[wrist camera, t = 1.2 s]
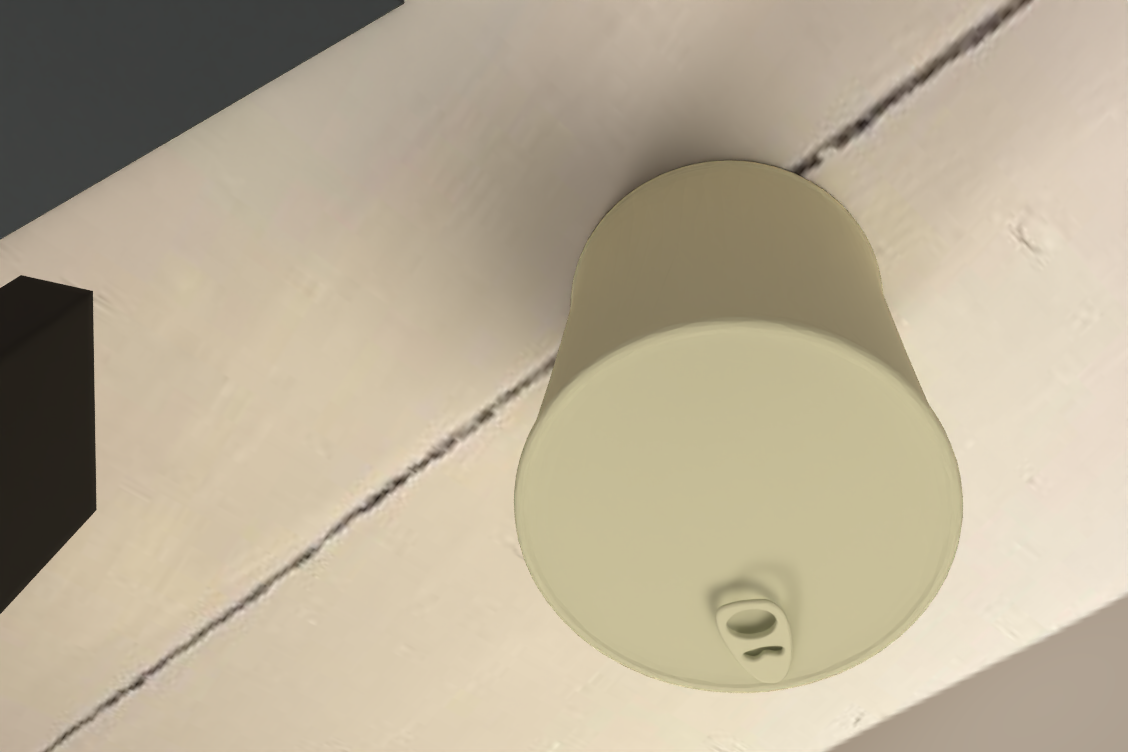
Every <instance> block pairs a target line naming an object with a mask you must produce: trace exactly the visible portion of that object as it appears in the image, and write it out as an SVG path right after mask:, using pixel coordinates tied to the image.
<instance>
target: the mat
mask: <svg viewBox="0 0 1128 752" xmlns="http://www.w3.org/2000/svg"><path fill="white" fill-rule="evenodd" d="M402 4H404V0H0V239H2V238H4V237H6V236H7V235H9V234H11V233H12V232H14V231H16V230H17V229H19V228H21V227H23V226H24V225H26V224H28V223H29V222H31V221H33V220H35V219H36V218H38V217H40V216H41V215H43V214H45V213H47V212H48V211H50V210H52V209H53V208H55V207H57V206H59V205H60V204H62V203H64V202H65V201H67V200H69V199H71V198H72V197H74V196H76V195H77V194H79V193H81V192H82V191H84V190H86V189H88V188H89V187H91V186H93V185H94V184H96V183H98V182H100V181H101V180H103V179H105V178H106V177H108V176H110V175H112V174H113V173H115V172H117V171H118V170H120V169H122V168H124V167H125V166H127V165H129V164H130V163H132V162H134V161H136V160H137V159H139V158H141V157H142V156H144V155H146V154H147V153H149V152H151V151H153V150H154V149H156V148H158V147H159V146H161V145H163V144H165V143H166V142H168V141H170V140H171V139H173V138H175V137H177V136H178V135H180V134H182V133H183V132H185V131H187V130H189V129H190V128H192V127H194V126H195V125H197V124H199V123H201V122H202V121H204V120H206V119H207V118H209V117H211V116H212V115H214V114H216V113H218V112H219V111H221V110H223V109H224V108H226V107H228V106H230V105H231V104H233V103H235V102H236V101H238V100H240V99H242V98H243V97H245V96H247V95H248V94H250V93H252V92H254V91H255V90H257V89H259V88H260V87H262V86H264V85H266V84H267V83H269V82H271V81H272V80H274V79H276V78H277V77H279V76H281V75H283V74H284V73H286V72H288V71H289V70H291V69H293V68H295V67H296V66H298V65H300V64H301V63H303V62H305V61H307V60H308V59H310V58H312V57H313V56H315V55H317V54H319V53H320V52H322V51H324V50H325V49H327V48H329V47H330V46H332V45H334V44H336V43H337V42H339V41H341V40H342V39H344V38H346V37H348V36H349V35H351V34H353V33H354V32H356V31H358V30H360V29H361V28H363V27H365V26H366V25H368V24H370V23H372V22H373V21H375V20H377V19H378V18H380V17H382V16H384V15H385V14H387V13H389V12H390V11H392V10H394V9H395V8H397V7H399V6H401V5H402Z"/></svg>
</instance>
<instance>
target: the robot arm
mask: <svg viewBox="0 0 1128 752" xmlns="http://www.w3.org/2000/svg"><path fill="white" fill-rule="evenodd" d="M95 511H96V458H95V397H94V336H93V291H90V290H86V289H81V288H76V287H72V286H67V285H63V284H58V283H54V282H49V281H45V280H40V279H36V278H31V277H27V276H22V275H21V276H19V277H17V278H16V279H14V280H13V281H11V282H9V283H8V284H6V285H5V286H3V287H1V288H0V614H1V613H2V612H3V611H4V609H5V608H6V607H7V606H8V605H9V604H10V603H11V602H12V601H13V600H14V599H15V598H16V596H17V595H18V594H19V593H20V592H21V591H22V590H23V589H24V588H25V587H26V586H27V585H28V583H29V582H30V581H31V580H32V579H33V578H34V577H35V576H36V575H37V574H38V573H39V572H40V570H41V569H42V568H43V567H44V566H45V565H46V564H47V563H48V562H49V561H50V560H51V559H52V558H53V556H54V555H55V554H56V553H57V552H58V551H59V550H60V549H61V548H62V547H63V546H64V545H65V543H66V542H67V541H68V540H69V539H70V538H71V537H72V536H73V535H74V534H75V533H76V532H77V530H78V529H79V528H80V527H81V526H82V525H83V524H84V523H85V522H86V521H87V520H88V519H89V517H90V516H91V515H92V514H93V513H94V512H95Z"/></svg>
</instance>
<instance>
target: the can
mask: <svg viewBox="0 0 1128 752" xmlns="http://www.w3.org/2000/svg"><path fill="white" fill-rule="evenodd" d="M514 512H515V523H516V529H517V535H518V540H519V544H520V547H521V550H522V554H523V557H524V560H525V562H526V565H527V567H528V569H529V572H530V574H531V576H532V578H533V580H534V582H535V583H536V585H537V587H538V589H539V590H540V592H541V593H542V595H543V596H544V598H545V599H546V601H547V602H548V604H549V605H550V606H551V607H552V608H553V610H554V611H555V612H556V613H557V614H558V616H559V617H560V618H561V619H562V620H563V621H564V622H565V623H566V624H567V625H568V626H569V627H570V628H571V629H572V630H573V631H574V632H575V633H576V634H577V635H578V636H580V637H581V638H582V639H583V640H584V641H586V642H587V643H588V644H590V645H591V646H593V647H594V648H595V649H597V650H598V651H599V652H601V653H602V654H604V655H606V656H608V657H609V658H611V659H613V660H615V661H616V662H618V663H620V664H622V665H623V666H626V667H628V668H630V669H632V670H634V671H637V672H639V673H641V674H643V675H646V676H648V677H651V678H654V679H657V680H660V681H663V682H667V683H670V684H674V685H679V686H683V687H687V688H692V689H698V690H705V691H714V692H728V693H755V692H769V691H776V690H783V689H788V688H793V687H797V686H802V685H806V684H810V683H813V682H816V681H819V680H822V679H825V678H828V677H832V676H835V675H837V674H839V673H842V672H844V671H846V670H848V669H850V668H852V667H854V666H856V665H859V664H860V663H862V662H864V661H866V660H867V659H869V658H871V657H872V656H874V655H876V654H877V653H879V652H881V651H882V650H883V649H884V648H886V647H887V646H888V645H890V644H891V643H892V642H894V641H895V640H896V639H898V638H899V637H900V636H901V635H902V634H903V633H904V632H905V631H906V630H907V629H908V628H909V627H910V626H912V625H913V624H914V623H915V621H916V620H917V619H918V618H919V617H920V616H921V615H922V614H923V612H924V611H925V610H926V608H927V607H928V606H929V604H930V603H931V602H932V600H933V599H934V597H935V596H936V594H937V593H938V591H939V589H940V587H941V586H942V584H943V582H944V580H945V579H946V577H947V574H948V572H949V570H950V567H951V565H952V562H953V560H954V557H955V553H956V550H957V547H958V543H959V538H960V532H961V525H962V518H963V495H962V486H961V478H960V473H959V468H958V464H957V460H956V457H955V455H954V452H953V449H952V446H951V444H950V441H949V439H948V437H947V435H946V432H945V430H944V428H943V426H942V424H941V423H940V421H939V419H938V418H937V416H936V414H935V413H934V411H933V410H932V409H931V407H930V406H929V404H928V402H927V400H926V397H925V395H924V393H923V390H922V388H921V386H920V383H919V381H918V379H917V376H916V374H915V372H914V369H913V367H912V365H911V362H910V360H909V358H908V355H907V353H906V350H905V348H904V346H903V343H902V341H901V338H900V336H899V333H898V331H897V328H896V326H895V323H894V321H893V318H892V316H891V313H890V311H889V308H888V306H887V303H886V301H885V298H884V295H883V290H882V282H881V277H880V272H879V268H878V264H877V261H876V258H875V255H874V253H873V250H872V248H871V246H870V244H869V242H868V240H867V238H866V236H865V234H864V233H863V231H862V229H861V228H860V226H859V225H858V224H857V222H856V221H855V220H854V218H853V217H852V216H851V214H850V213H849V212H848V211H847V210H846V209H845V208H844V207H843V206H842V205H841V204H840V203H839V202H838V201H837V200H836V199H835V198H833V197H832V196H831V195H830V194H828V193H827V192H826V191H824V190H823V189H822V188H820V187H818V186H817V185H815V184H814V183H812V182H811V181H809V180H807V179H805V178H803V177H801V176H799V175H797V174H795V173H792V172H789V171H786V170H784V169H781V168H778V167H774V166H770V165H766V164H761V163H755V162H747V161H733V160H726V161H710V162H703V163H697V164H693V165H689V166H685V167H681V168H678V169H675V170H672V171H669V172H667V173H664V174H662V175H660V176H657V177H655V178H653V179H651V180H650V181H648V182H646V183H644V184H642V185H641V186H639V187H638V188H636V189H635V190H633V191H632V192H631V193H629V194H628V195H627V196H625V197H624V198H623V199H622V200H620V201H619V202H618V203H617V204H616V205H615V206H614V207H613V208H612V209H611V210H610V211H609V212H608V213H607V215H606V216H605V217H604V218H603V219H602V220H601V222H600V223H599V224H598V226H597V227H596V229H595V230H594V232H593V233H592V235H591V236H590V238H589V240H588V241H587V243H586V245H585V247H584V249H583V252H582V254H581V256H580V259H579V261H578V264H577V268H576V271H575V274H574V279H573V283H572V291H571V309H570V313H569V316H568V320H567V324H566V327H565V330H564V334H563V337H562V340H561V344H560V347H559V350H558V354H557V357H556V360H555V364H554V367H553V370H552V374H551V377H550V381H549V384H548V387H547V390H546V393H545V396H544V399H543V402H542V405H541V408H540V411H539V414H538V417H537V420H536V422H535V424H534V425H533V427H532V429H531V431H530V433H529V435H528V438H527V440H526V443H525V445H524V448H523V451H522V454H521V457H520V460H519V465H518V469H517V474H516V481H515V490H514Z"/></svg>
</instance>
